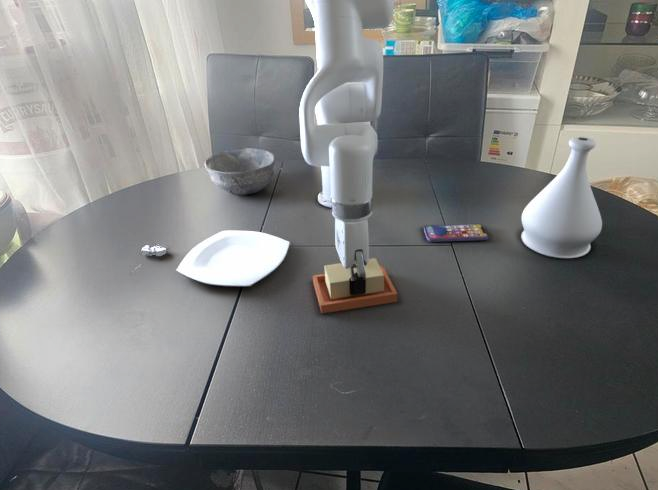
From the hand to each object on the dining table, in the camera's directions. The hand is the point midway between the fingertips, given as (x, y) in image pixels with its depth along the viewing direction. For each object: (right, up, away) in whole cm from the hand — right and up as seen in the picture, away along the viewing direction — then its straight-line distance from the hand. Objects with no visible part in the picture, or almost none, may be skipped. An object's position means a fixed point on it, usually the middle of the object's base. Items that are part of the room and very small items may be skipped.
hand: (353, 282), depth 92 cm
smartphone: (+26, +12, +20) cm, 34 cm away
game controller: (-49, +5, +13) cm, 51 cm away
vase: (+49, +10, +16) cm, 53 cm away
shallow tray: (0, -2, +1) cm, 2 cm away
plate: (-27, +4, +12) cm, 30 cm away
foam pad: (0, -1, 0) cm, 1 cm away
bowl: (-33, +27, +46) cm, 63 cm away
